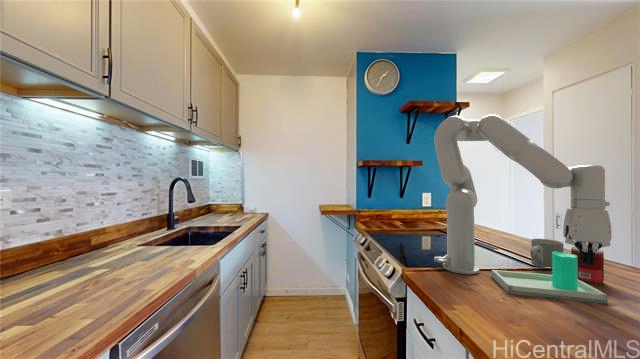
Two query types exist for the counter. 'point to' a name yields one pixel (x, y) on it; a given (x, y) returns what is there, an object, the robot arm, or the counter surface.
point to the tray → (545, 287)
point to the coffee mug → (544, 251)
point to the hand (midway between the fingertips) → (587, 263)
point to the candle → (564, 271)
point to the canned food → (590, 268)
